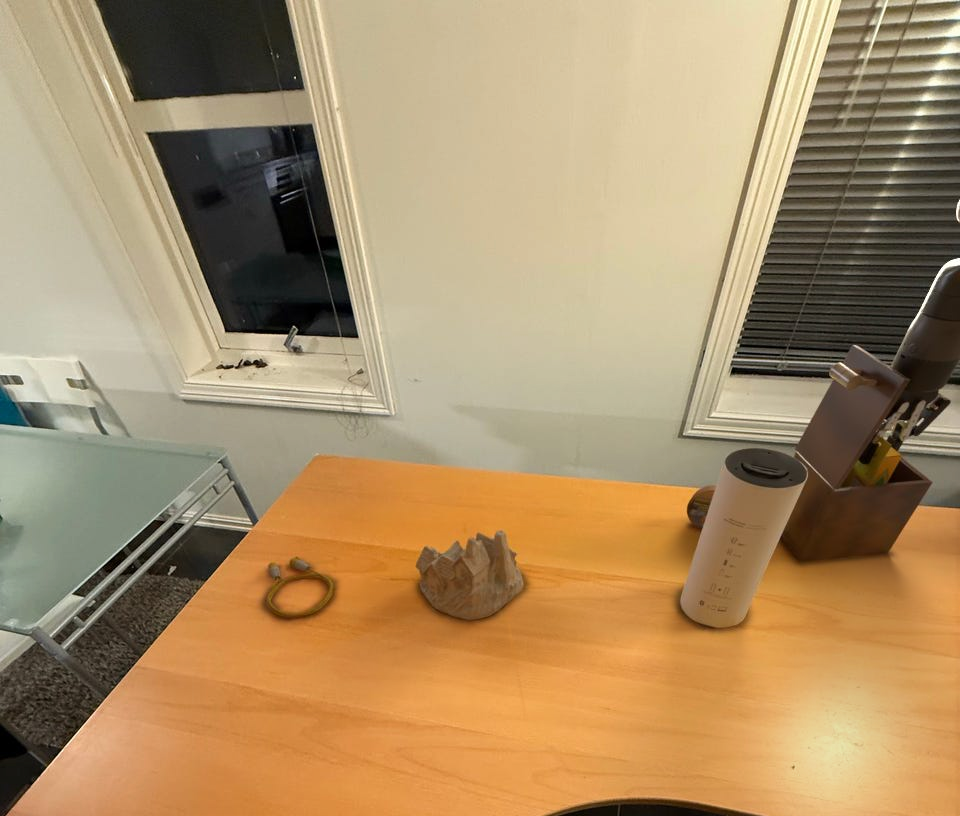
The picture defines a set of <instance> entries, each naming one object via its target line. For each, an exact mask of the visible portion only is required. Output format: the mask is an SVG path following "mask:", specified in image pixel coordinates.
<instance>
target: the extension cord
mask: <svg viewBox="0 0 960 816" xmlns="http://www.w3.org/2000/svg"><path fill="white" fill-rule="evenodd" d="M288 566H289V567H290V568H292V569H294V570H298V571H301V572H305V573H308V572H312V573H308V574H299V575H294V576H290V577H287V578H284V579H283V580H281V577H282V576H281V570H280V568H279V567H278V565H277V563H276V562H269V564H267V568H268V572H269V574H270V576H271V577H272V579H273V580H274V581H275V582H274V584H273V585H272V588H271V589H270V591H269V593H268V595H267V599H266V605H267V608H268V609H269V610H270V612H272V613H274V614H275V615H277V616H280V617H284V618H302V617H306V616H310V615H312V614H314V613H316V612H318V611H319V610H321V609H322V608H323V607H324V606H325V605H326V604H327V603H328V601H329V600H331V598H332V596H333V594H334V590H333V589H334V583H333V581H332V580H331V578H329V577H327V576H326V575H324V574H322V573H320V572H318V571H316V570H314V569H312V568H311V564H309V563H307V561H303V560H302V559H300V557H298V556H295V557H292V558H291V559H290V560H289V565H288ZM299 579H318V580H319V579H320V580H322V581H323V582H325V584H327V586H328V587H329V590H328V592H327V594H326V596H325V597H324V599H323V600H322V601H320V602H319V603H318V604H317V605H316V606H315V607H312V608H311V609H309V610H307V611H304V612H300V613H299V612H298V613H289V612H285V611H283V610H280V609H278V608H276V607H275V606H274V605H273V603H272V602H271V600H272V598H273V596H274V594H275V593H276V592H277V591H278V590H279V589H281V587H282V586H284V584H287V583H288V582H291V581H294V580H299ZM280 580H281V581H280ZM278 581H280V582H279V583H278Z"/></svg>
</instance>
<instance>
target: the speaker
mask: <svg viewBox="0 0 960 816" xmlns="http://www.w3.org/2000/svg"><path fill="white" fill-rule="evenodd" d="M807 470H808V469H807V468H806V467H805V466H804V465H803V464H802V463H801V462H800V461H799V460H797V459H796V458H794V456H792V455H791V454H789V453H786V452H783V451H780V450H775V449H771V448H766V447H745V448H740V449H737V450H733V451H732V452H731V451H730V453H728V454H727V455H726V456H725V457H724V461H723V463H722V466H721V470H720V474H719V476H718V478H717V482H716V484H715V485H716V488H715V491H714V495H713V498H712V501H711V504H710V507H709V510H708V513H707V517H706V520H705V523H704V526H703V529H701V532H700V536H699V539H698V542H697V544H696V548H695V550H694V551H695V552H694V554H693V558H692V561H691V563H690V566H689V570H688V574H687V576H686V580H685V583H684V586H683V589H682V593H681V594H680V598H679V599H680V600H679V601H680V602H679V603H680V608H681V610H682V611H683V613H684V614H685V615H686V616H687V617H688V618H689V619H691V620H692V621H693V622H694V623H697V624H699V625H701V626H704V627H705V626H706V627H709V628H715V629H716V628H717V629H723V628H724V629H725V628H730V627H734V626H736V625H739V624H740V623H742V622H743V621H744V620H745V618H746V615H747V613H748V612H749V609H750V607H751V606H752V603H753V600H754V597H755V595H756V593H757V591H758V589H759V585H760V584H761V582H762V579H763V577H764V574H765V572H766V571H767V567H768V566H769V563H770V561H771V559H772V557H773V555H774V552H775V550H776V548H777V546H778V543H779V541H780V539H781V535H782V532H783V530H784V528H785V526H786V524H787V521H788V519H789V517H790V515H791V513H792V511H793V508H794V506H795V504H796V502H797V500H798V498H799V495H800V493H801V491H802V489H803V487H804V484H805V482H806V480H807V477H808V472H807Z"/></svg>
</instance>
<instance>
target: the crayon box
mask: <svg viewBox="0 0 960 816" xmlns="http://www.w3.org/2000/svg"><path fill="white" fill-rule="evenodd" d="M886 440H887V439H885V438H884V436H883V437H882V439H881V440H880V442H878V443H879V446H878V448H877V450H876V451H875V453H874V455H873V457H872V459H871V461H870V463H869V464H862V463H861V462H860V461H859V460H858V461H857V462H856V464H855V465H854V467H853V468H852V470H851V471H850V473H849V474H848V476H847V477H846V479H845V480H844V482H843V483H842V485H841V487H840V488H847V487H858V486H868V485H878V484H887V482H888V480H889V479H890V477H891V475H892V473H893V471H894V470H895V468H896V466H897V464H898V463H899V461H900V459H901V457H902V458H903V454H901V453H900V452H899V451H898V452H897V451H896V450H895V449H893V448H892V447H891V446H892V445H891V444H890V443H889V442H888V441H886Z"/></svg>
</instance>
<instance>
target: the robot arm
mask: <svg viewBox="0 0 960 816" xmlns="http://www.w3.org/2000/svg"><path fill="white" fill-rule="evenodd" d="M956 219H957V221H958V223H959V224H960V200H959V201H958V202H957V207H956ZM959 362H960V257H957V258H953V259H952V260H949V261H948V262H947V263H945V264H944V265H943V266H942V267H941V269H940V270H939V271H938V274H937V275H936V276H935V278H934V281H933V283H932V285H931V287H930V288H929V290H928V292H927V295H926V296H925V299H924V301H923V303H922V305H921V307H920V309H919V311H918V313H917V314H916V316H915V318H914V319H913V320H912V322H911V324H910V325H909V328H908V329H907V331H906V334H905V336H904V338H903V339H902V342H901V344H900V346H899V349H898V350H897V352H896V354H895V356H894V358H893V360H892V362H891V365H890V367H891V368H893V369H894V370H896V371H898V372H899V373H901V374H902V375H904V376H905V377H907V378H908V379H910V381H909V383H908V384H907V386H906V387H905V389H904V390H903V392H902V393H901V395H900V396H899V398H898V399H897V401H896V402H895V404H894V405H893V407H892V409H891V410H890V412H889V413H888V415H887V416H886V418H885V419H884V421H883V422H882V424H881V425H880V427H879V428H878V430H877V431H876V433H875V435H874V436H873V438H872V439H871V441H870V442H869V444H868V445H867V447H866V448H865V450H864V451H863V453H862V454H861V456H860V457H859V459H858V460H859V461H860V462H861V463H862V464H869V463H870V461H871V459H872V457H873V455H874V453H875V451H876V450H877V448H878V446H879V443H878V442H880V440H881V439H882V437H883V438H884V436H885V434H886V433H887V432H888V431H891V434H889V435H888V436H887V438H886V439H885V440H886V441H888V442H889V443H890V444H891V445H892V446H891V447H892V448H893V449H895V450H896V451H897V452H898V453H899V450H900V448H901V447H902V445H903V443H904V442H905V441H907V440H908V439H909V438H910V437H919V436H920V435H921V434H923V432H924V431H926V429H927V428H928V427H929V426H930V425H931V424H932V423H933V422H934V421H935V420H936V419H937V418H938V417H939V416H940V415H942V413H943V412H944V411H945V410H946V409H947V408H948V407H949V406H950V404H951V400H950V399H949V398H947V397H946V396H944V395H943V394H941V393H940V392H939V391H940V390H941V389H943V388H944V387H945V386H946V385H947V384H948V381H949V380H950V378H951V376H952V374H953V372H954V371H955V369H956V367H957V365H958V364H959ZM922 419H923V420H922ZM921 420H922V421H921ZM920 421H921V422H920ZM919 422H920V423H919ZM917 424H918V425H917Z"/></svg>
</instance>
